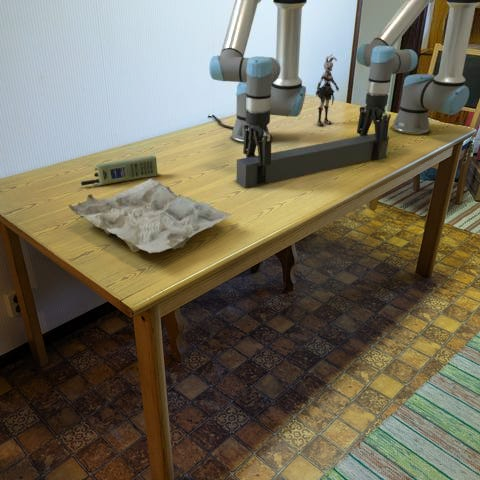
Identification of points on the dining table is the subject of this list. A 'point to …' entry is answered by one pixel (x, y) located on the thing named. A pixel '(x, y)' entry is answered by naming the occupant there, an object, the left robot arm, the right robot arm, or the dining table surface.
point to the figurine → (326, 90)
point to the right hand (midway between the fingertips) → (368, 156)
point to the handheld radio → (124, 170)
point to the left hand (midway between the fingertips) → (256, 179)
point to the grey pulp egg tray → (149, 216)
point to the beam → (310, 159)
